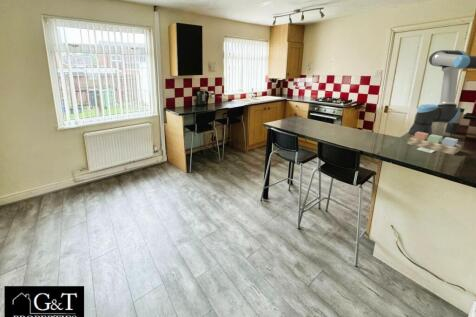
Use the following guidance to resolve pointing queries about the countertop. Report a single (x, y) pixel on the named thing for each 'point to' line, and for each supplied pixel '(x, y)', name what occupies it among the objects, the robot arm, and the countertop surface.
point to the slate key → (449, 142)
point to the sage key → (435, 138)
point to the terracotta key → (421, 136)
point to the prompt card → (426, 150)
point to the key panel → (434, 146)
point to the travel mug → (454, 123)
